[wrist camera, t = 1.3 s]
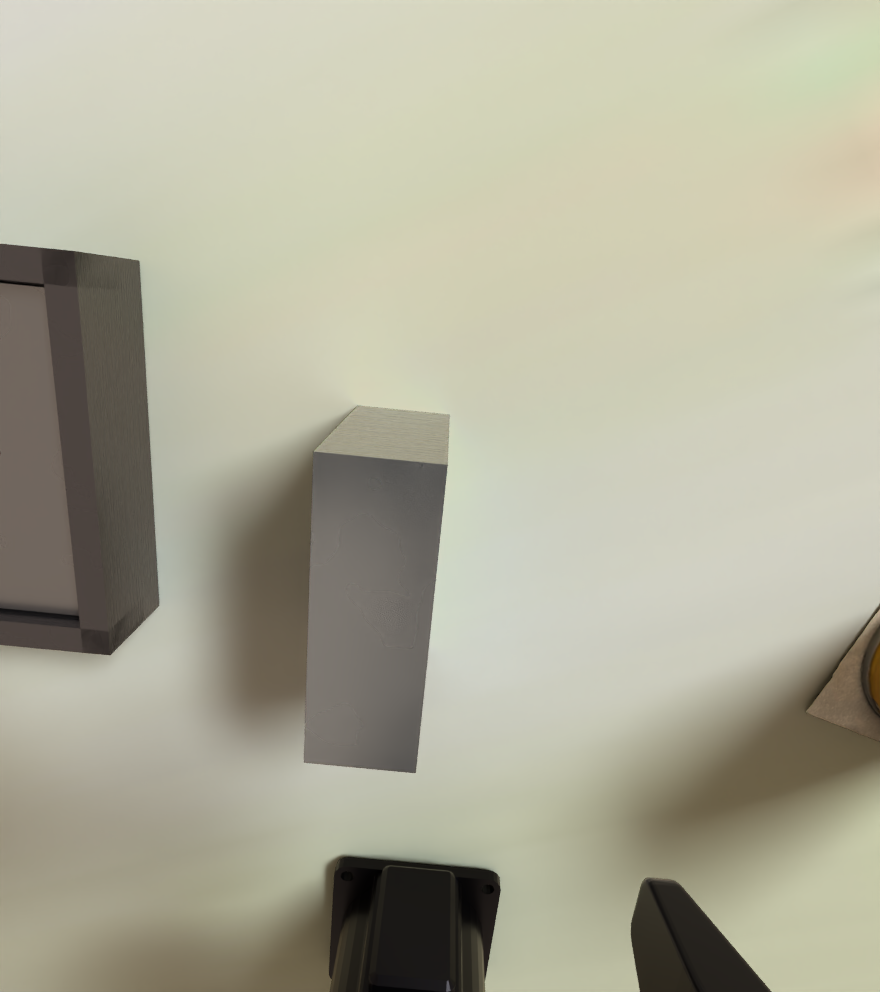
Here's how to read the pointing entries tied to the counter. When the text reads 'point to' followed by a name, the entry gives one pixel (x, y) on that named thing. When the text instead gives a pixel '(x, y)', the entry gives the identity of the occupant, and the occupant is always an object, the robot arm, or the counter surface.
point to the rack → (73, 452)
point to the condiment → (855, 687)
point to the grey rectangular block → (373, 585)
